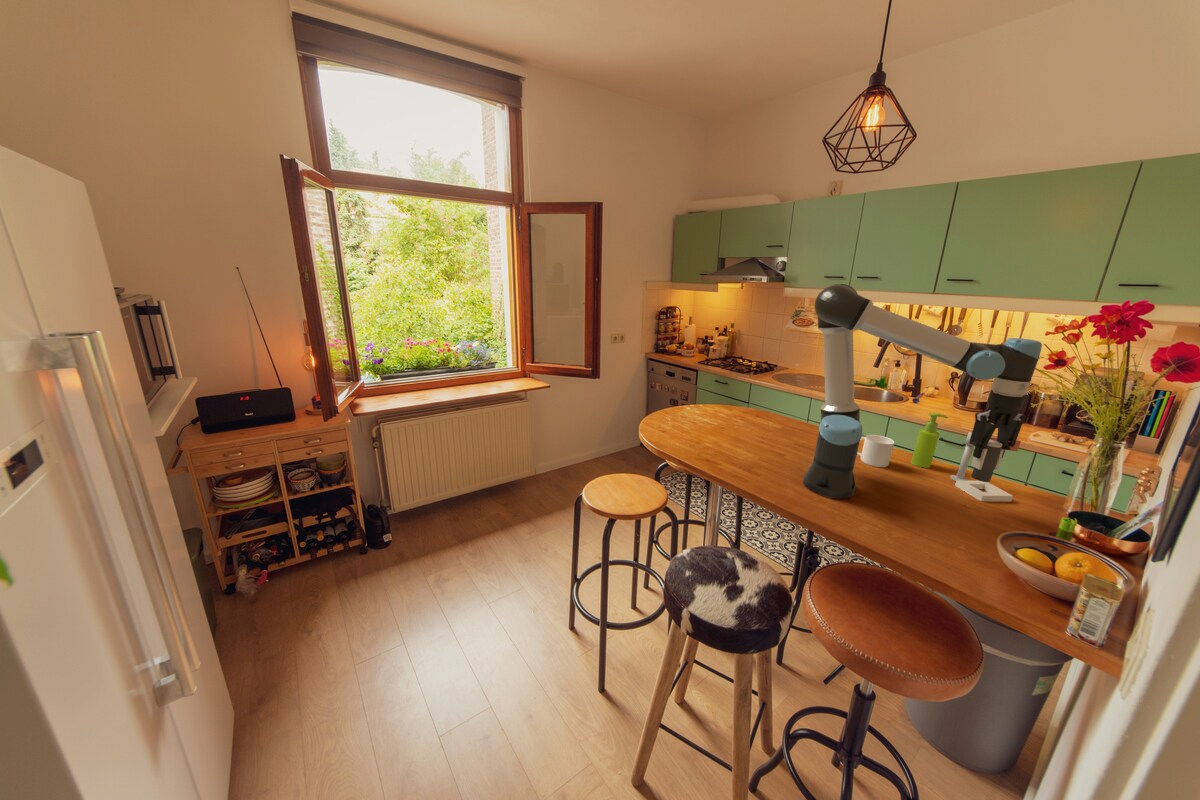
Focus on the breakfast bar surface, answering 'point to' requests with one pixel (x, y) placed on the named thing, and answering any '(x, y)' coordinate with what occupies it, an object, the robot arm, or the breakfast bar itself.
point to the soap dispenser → (926, 443)
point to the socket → (977, 483)
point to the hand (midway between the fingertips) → (984, 467)
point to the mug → (876, 450)
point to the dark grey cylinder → (988, 462)
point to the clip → (995, 440)
